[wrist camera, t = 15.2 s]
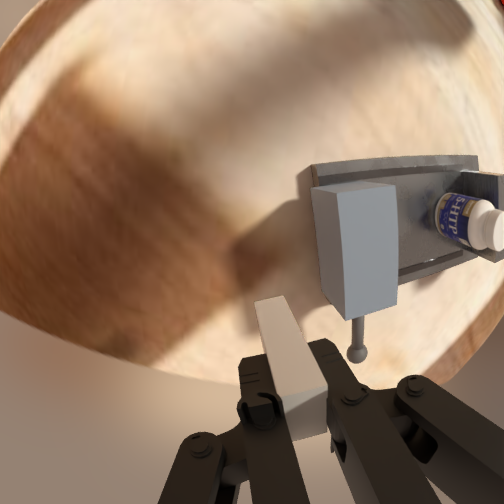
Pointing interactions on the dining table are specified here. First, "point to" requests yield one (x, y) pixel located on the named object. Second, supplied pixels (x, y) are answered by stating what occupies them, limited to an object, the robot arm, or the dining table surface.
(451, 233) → the pill bottle
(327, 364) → the robot arm
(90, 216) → the dining table surface
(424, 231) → the vise
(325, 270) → the block
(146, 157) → the dining table surface
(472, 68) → the dining table surface
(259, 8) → the dining table surface
